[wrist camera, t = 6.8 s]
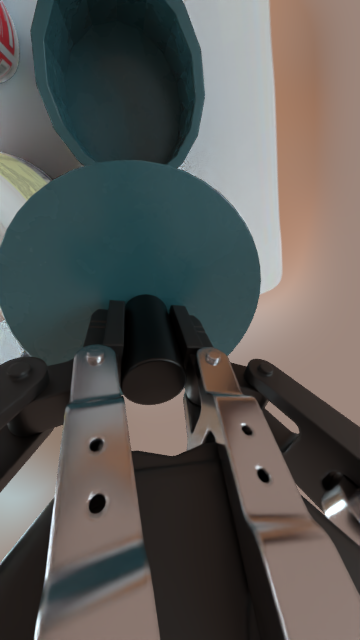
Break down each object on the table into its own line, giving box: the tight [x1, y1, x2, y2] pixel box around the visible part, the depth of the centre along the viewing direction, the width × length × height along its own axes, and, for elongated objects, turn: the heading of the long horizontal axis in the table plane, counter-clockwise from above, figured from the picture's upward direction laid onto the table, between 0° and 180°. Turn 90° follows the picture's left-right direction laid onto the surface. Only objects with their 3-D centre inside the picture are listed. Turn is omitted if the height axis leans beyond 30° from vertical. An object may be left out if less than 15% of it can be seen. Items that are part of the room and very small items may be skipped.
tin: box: [31, 0, 205, 168], centre depth 19 cm, size 13×13×6 cm
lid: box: [0, 160, 261, 405], centre depth 10 cm, size 14×14×6 cm
